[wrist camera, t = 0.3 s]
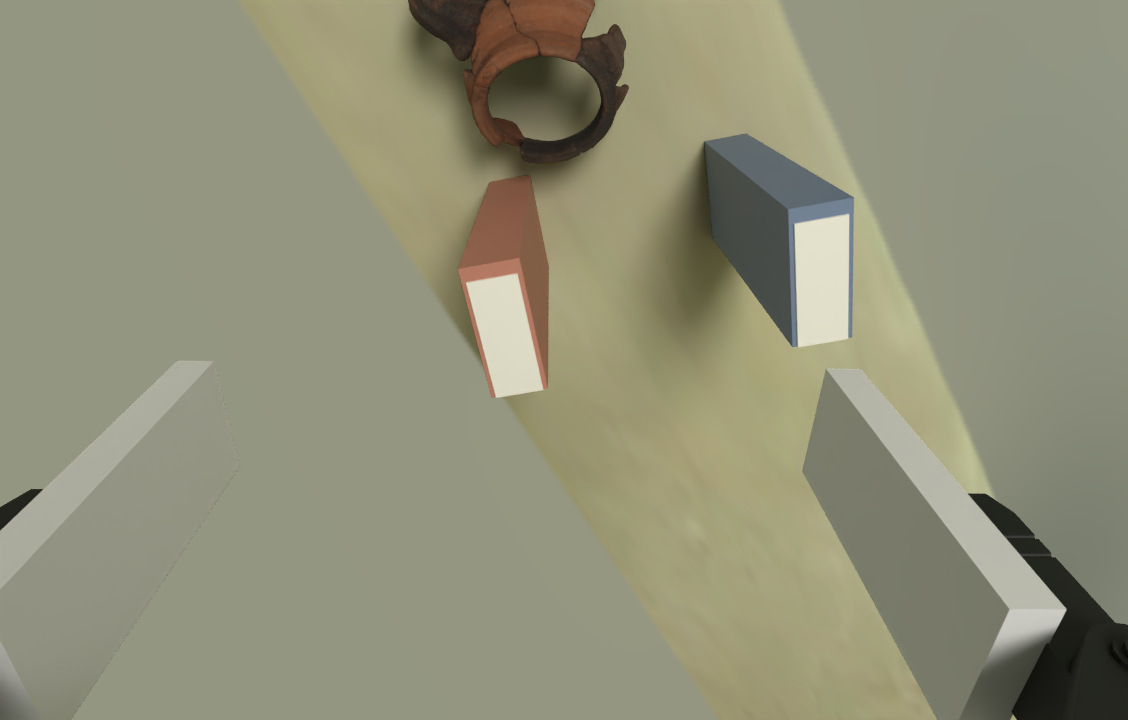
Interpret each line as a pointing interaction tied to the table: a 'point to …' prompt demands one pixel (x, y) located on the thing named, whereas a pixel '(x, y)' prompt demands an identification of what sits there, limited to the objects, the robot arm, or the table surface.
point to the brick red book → (508, 288)
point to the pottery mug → (516, 32)
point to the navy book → (784, 237)
